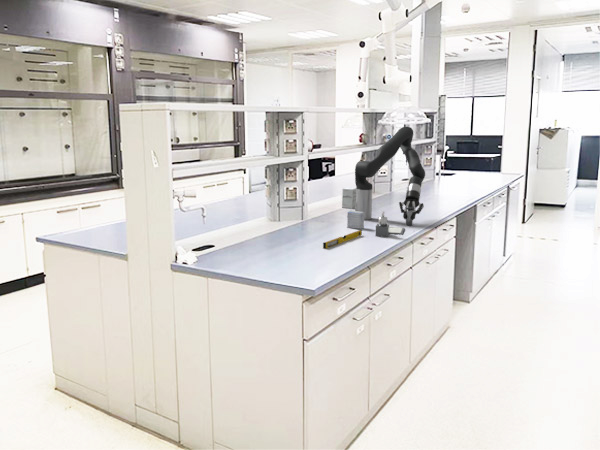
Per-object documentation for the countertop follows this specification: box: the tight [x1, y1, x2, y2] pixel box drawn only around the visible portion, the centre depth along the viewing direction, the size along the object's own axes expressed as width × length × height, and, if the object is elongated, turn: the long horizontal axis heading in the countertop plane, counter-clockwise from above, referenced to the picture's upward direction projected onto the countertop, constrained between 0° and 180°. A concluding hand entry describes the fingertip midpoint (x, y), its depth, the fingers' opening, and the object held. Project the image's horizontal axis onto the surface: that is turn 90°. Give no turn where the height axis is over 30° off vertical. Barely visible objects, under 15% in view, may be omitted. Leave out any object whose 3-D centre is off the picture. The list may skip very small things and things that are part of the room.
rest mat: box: [389, 226, 406, 235], centre depth 274 cm, size 11×14×1 cm
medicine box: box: [346, 210, 365, 230], centre depth 281 cm, size 8×4×9 cm, turn 59°
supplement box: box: [341, 187, 356, 209], centre depth 343 cm, size 7×7×13 cm
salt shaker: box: [405, 206, 414, 227], centre depth 288 cm, size 4×4×10 cm
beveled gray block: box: [374, 211, 390, 238], centre depth 263 cm, size 6×6×12 cm
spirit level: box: [322, 229, 363, 250], centre depth 250 cm, size 33×1×3 cm, turn 145°
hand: (408, 218), depth 286 cm, fingers closed on salt shaker, 3 cm apart
